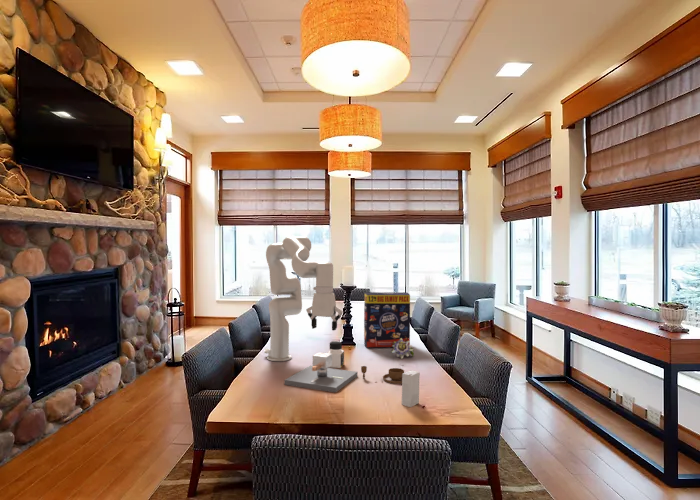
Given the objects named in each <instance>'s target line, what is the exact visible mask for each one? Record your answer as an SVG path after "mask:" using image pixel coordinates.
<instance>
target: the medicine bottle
mask: <svg viewBox="0 0 700 500" xmlns="http://www.w3.org/2000/svg"><path fill="white" fill-rule="evenodd" d="M342 343H343V342H341V341H340V340H339V341H338V340H332V341H330V342H329V351H328V352H327V353H329V354H332V365H331V366H330V367H329V368H333V369H342V367H343V366H344V364H345V350H343V349H342V348H343V344H342Z"/></svg>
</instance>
